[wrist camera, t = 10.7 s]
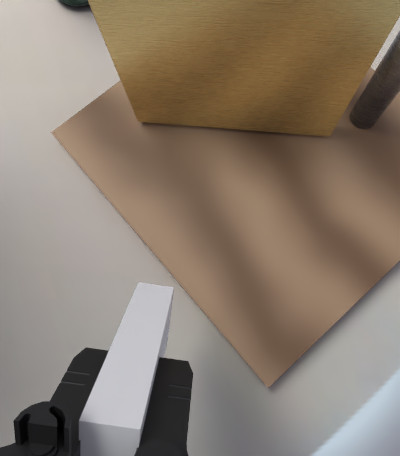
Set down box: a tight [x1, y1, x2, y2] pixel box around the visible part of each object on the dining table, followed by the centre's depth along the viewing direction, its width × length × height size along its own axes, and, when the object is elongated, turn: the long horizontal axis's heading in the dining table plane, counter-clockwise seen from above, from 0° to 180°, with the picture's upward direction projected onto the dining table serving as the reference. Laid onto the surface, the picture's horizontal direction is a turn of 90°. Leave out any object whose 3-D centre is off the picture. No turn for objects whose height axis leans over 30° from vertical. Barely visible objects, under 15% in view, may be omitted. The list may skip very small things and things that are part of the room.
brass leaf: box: [88, 0, 400, 137], centre depth 19 cm, size 13×1×10 cm, turn 83°
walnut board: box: [51, 67, 400, 388], centre depth 24 cm, size 20×22×1 cm
